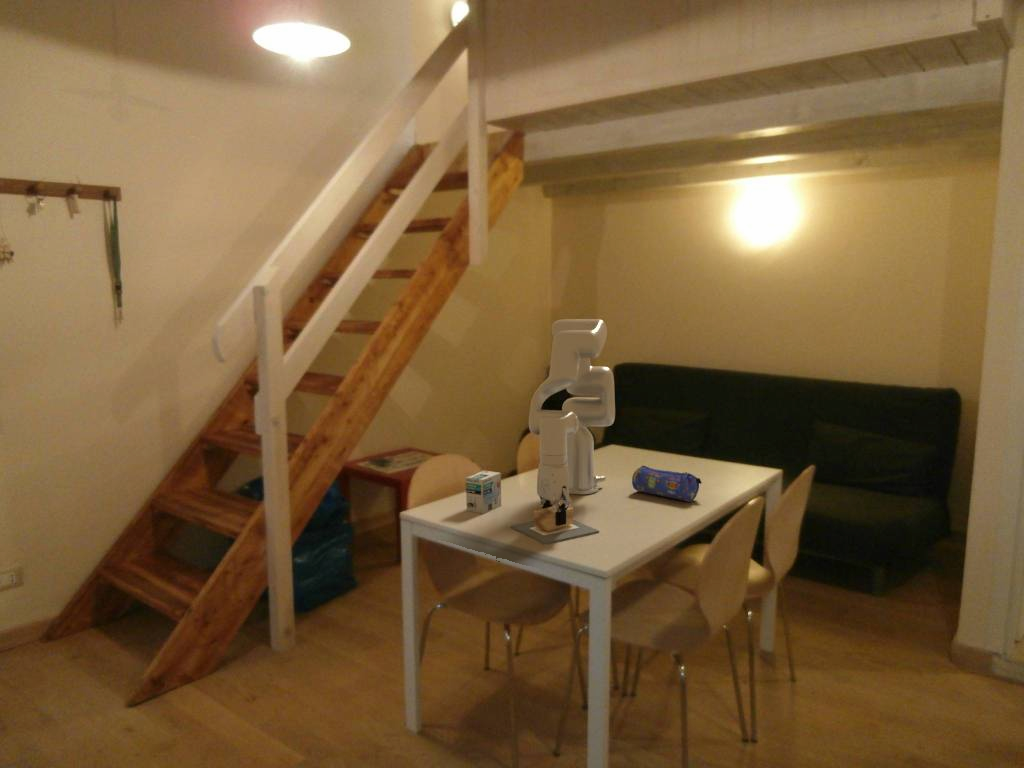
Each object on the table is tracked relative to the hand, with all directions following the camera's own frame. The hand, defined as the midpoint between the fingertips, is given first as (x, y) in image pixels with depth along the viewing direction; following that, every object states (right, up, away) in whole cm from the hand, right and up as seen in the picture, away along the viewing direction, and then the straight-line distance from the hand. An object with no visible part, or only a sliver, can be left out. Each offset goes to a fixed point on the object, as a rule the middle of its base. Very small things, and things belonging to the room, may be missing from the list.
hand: (554, 521), depth 210 cm
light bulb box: (-21, 0, +23) cm, 31 cm away
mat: (0, -2, 0) cm, 2 cm away
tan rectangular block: (0, -1, 0) cm, 1 cm away
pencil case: (+38, +2, +32) cm, 50 cm away
